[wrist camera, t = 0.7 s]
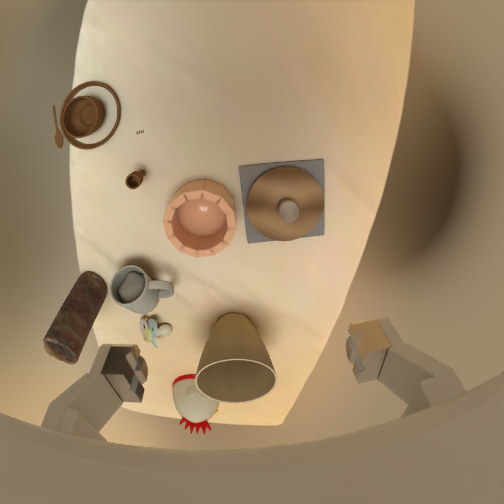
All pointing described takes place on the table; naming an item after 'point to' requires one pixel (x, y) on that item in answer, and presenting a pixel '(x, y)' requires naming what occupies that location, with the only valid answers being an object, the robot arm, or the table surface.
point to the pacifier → (151, 334)
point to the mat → (255, 171)
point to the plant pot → (235, 363)
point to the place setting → (88, 123)
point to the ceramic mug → (138, 289)
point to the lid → (285, 203)
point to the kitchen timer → (193, 403)
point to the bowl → (201, 218)
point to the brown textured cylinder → (75, 318)
